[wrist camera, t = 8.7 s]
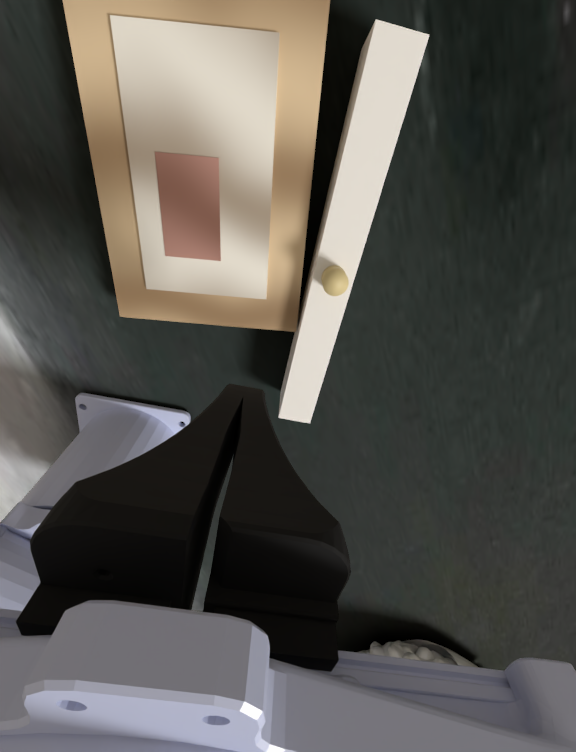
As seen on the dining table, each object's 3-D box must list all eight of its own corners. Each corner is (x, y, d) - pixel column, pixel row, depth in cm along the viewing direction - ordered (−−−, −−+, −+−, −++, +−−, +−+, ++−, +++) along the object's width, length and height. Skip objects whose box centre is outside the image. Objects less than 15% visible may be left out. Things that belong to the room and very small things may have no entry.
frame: (296, 317, 21) (296, 333, 19) (137, 303, 21) (118, 318, 19) (328, 1, 14) (333, -33, 12) (88, -24, 14) (47, -64, 12)
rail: (308, 396, 24) (310, 433, 20) (280, 391, 23) (277, 428, 20) (406, 60, 15) (439, 23, 11) (361, 48, 14) (382, 6, 11)
